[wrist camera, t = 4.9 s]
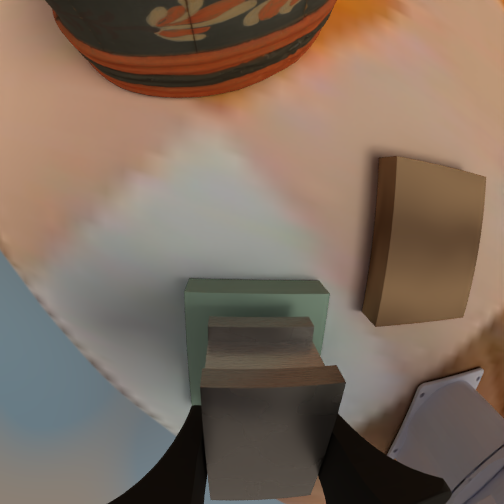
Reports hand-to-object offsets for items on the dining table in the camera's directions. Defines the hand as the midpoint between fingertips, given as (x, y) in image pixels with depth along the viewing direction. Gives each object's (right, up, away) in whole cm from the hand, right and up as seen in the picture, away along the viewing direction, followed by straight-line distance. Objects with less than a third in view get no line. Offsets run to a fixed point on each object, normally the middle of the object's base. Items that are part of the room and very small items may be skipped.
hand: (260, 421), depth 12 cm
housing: (0, +1, +2) cm, 3 cm away
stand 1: (0, +1, +6) cm, 6 cm away
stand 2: (+10, +8, +5) cm, 14 cm away
